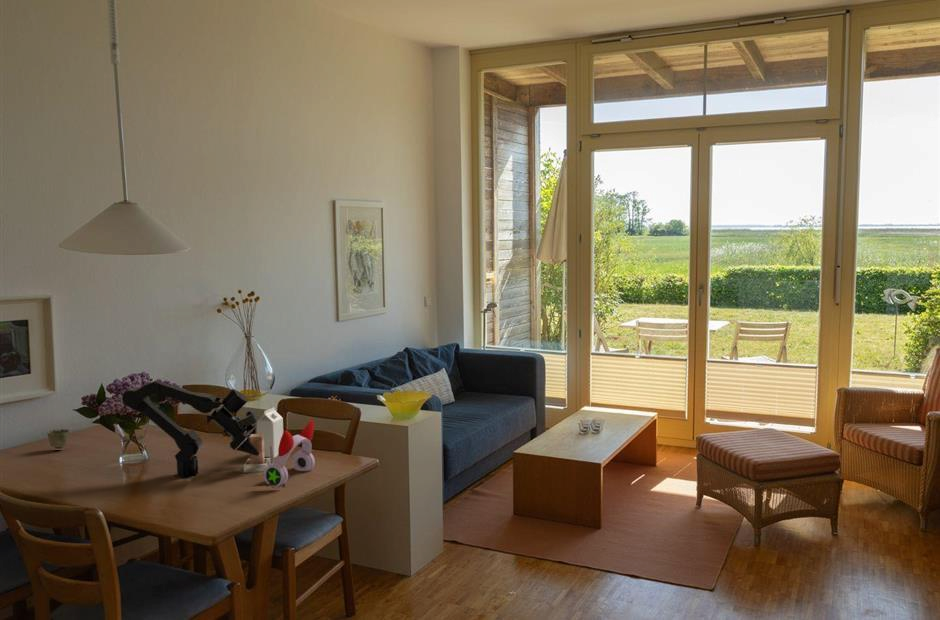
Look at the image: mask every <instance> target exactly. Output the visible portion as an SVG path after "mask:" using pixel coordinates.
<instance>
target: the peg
mask: <svg viewBox="0 0 940 620" xmlns="http://www.w3.org/2000/svg"><path fill="white" fill-rule="evenodd" d="M250 443H251V444H252V445H253V446H254V447H255V448H256V450H257V451H258V452H259V455H258V456H256V455H253V454H249V459H250V464H265V458H266V457H265V455H264V434H257V433H256V434H251V435H250Z"/></svg>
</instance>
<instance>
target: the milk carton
mask: <svg viewBox="0 0 940 620" xmlns="http://www.w3.org/2000/svg"><path fill="white" fill-rule="evenodd" d="M258 419H259V420H258V421H257V422H256V434H264V455H265V458H270V446H273V449H274V458H277V455H278V448H279V444H280V440H281V437H282V435H283V432H284V418H283V417H282V415H280V414H279V412H277V410H276V407H275V406H274V407H271V408H268V409H266V410H264V411H263V414H262V415H261V417H259V418H258Z"/></svg>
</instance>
